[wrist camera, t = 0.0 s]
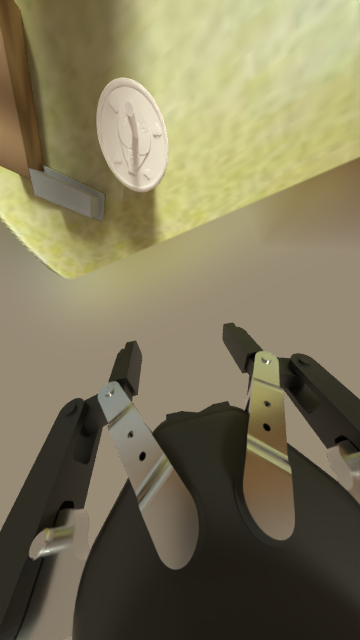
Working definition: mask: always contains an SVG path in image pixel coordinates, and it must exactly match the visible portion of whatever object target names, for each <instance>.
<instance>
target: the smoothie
mask: <svg viewBox="0 0 360 640" xmlns="http://www.w3.org/2000/svg"><path fill="white" fill-rule="evenodd" d="M96 126H97V135H98V140H99V144H100V147H101V150H102V153H103V156H104V158H105V160H106V162H107V164H108V166H109V167H110V169H111V171H112V172H113V174H114V175H115V176H116V178H117V179H118V180H119V181H120V182H121V183H122V184H123V185H124V186H126V187H127V188H129V189H131V190H133V191H136V192H148V191H150V190H152V189H154V188H155V187H156V186H157V185H158V184H159V183H160V181H161V180H162V178H163V176H164V174H165V170H166V167H167V160H168V137H167V131H166V127H165V123H164V120H163V117H162V114H161V112H160V109H159V107H158V105H157V103H156V102H155V100H154V99H153V97H152V96H151V94H150V93H149V92H148V91H147V90H146V89H145V88H144V87H143V86H142V85H141V84H140V83H138V82H137V81H135V80H133V79H130V78H124V77H122V78H117V79H114V80H112V81H111V82H110V83H108V84H107V85H106V87H105V88H104V90H103V91H102V93H101V95H100V98H99V102H98V106H97V114H96Z"/></svg>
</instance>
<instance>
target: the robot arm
mask: <svg viewBox="0 0 360 640" xmlns="http://www.w3.org/2000/svg"><path fill="white" fill-rule="evenodd" d="M223 342H224V344H225V345H226V347H227V349H228V350H229V352H230V354H231V355H232V357H233V359H234V360H235V362H236V364H237V365H238V367H239V368H240V370H241V372H242V373H248V374H249V380H248V386H247V393H246V400H245V404H244V409H241V408H238V407H235V406H230V405H229V402H228V401H227V402H222V403H217V404H213V405H211V406H210V407H208V408H206V409H204V410H202V411H201V412H198V413H195V412H184V411H181V412H177V413H171V414H167V415H166V420H165V421H163V422H162V423H161V424H160V425H159V426H158V427H157V428H156V429H155V430H154V431H153V432H152V431H151V430H150V428H149V426H148V425H147V424H146V422H145V421H144V419H143V418H142V416H141V415H140V413H139V412H138V410H137V409H136V407H135V406H134V404H133V403H132V397H133V396H135V395H138V387H139V379H140V371H141V363H142V354H141V351H140V349H139V346H138V344H137V342H136V341H132V342H127V343H126V346H125V349H122V350H121V351H120V352H119V353H118V354H117V358H116V361H115V363H114V367H113V370H112V373H111V376H110V379H109V382H108V383H107V384H106V385H105V386H103V387H102V388H101V390H100V391H99V393H98V394H97V395H95V396H93V397H91V398H89V399H87V400H85V401H84V400H83V399H81V398H76V399H74V400H72V401H70V402H69V403H67V404H66V405H65V406H64V407H63V408H62V409H61V411H60V413H59V414H58V417H57V418H56V421H55V423H54V425H53V426H52V428H51V431H50V433H49V435H48V437H47V439H46V441H45V443H44V445H43V447H42V449H41V451H40V453H39V455H38V457H37V459H36V461H35V463H34V465H33V467H32V469H31V471H30V473H29V475H28V477H27V479H26V481H25V483H24V485H23V487H22V489H21V491H20V493H19V495H18V497H17V499H16V501H15V503H14V506H13V507H12V509H11V511H10V513H9V515H8V517H7V519H6V521H5V523H4V525H3V527H2V529H1V531H0V640H63V639H65V638H67V637H70V636H72V640H360V399H359V398H358V397H356V396H355V395H354V394H353V393H352V392H351V391H349V390H348V389H347V388H346V387H345V386H344V385H343V384H341V383H340V382H339V381H338V380H337V379H336V378H335V377H333V376H332V375H331V374H330V373H329V372H327V370H325V369H324V368H323V367H322V366H321V365H320V364H318V363H317V362H316V361H315V360H314V359H312V358H311V357H309V356H307V355H304V354H293V355H292V356H291V358H278V357H276V356H274V355H273V354H271V353H269V352H266V351H263V350H262V349H261V347H260V346H259V345H258V344H257V343H256V342H255V341H254V340H253V339H252V338H251V336H250V335H248V333H247V332H246V331H245V330H244V329H242V328H240V327H236V326H235V324H234V323H227V324H224V326H223ZM282 388H283V389H284V391H285V392H286V393H287V395H288V396H289V397H290V399H291V400H292V401H293V403H294V404H295V406H296V407H297V408H298V410H299V411H300V412H301V414H302V415H303V416H304V418H305V419H306V421H307V422H308V423H309V425H310V426H311V427H312V429H313V430H314V431H315V433H316V434H317V436H318V437H319V438H320V440H321V441H322V442H323V444H324V445H325V446H326V448H327V449H328V451H327V457H328V460H329V462H330V466H331V469H332V470H333V472H334V473H335V474H336V475H337V478H338V481H336V480H335V479H334V478H332V477H331V476H330V475H328V474H327V473H326V472H325V471H323V470H322V469H321V468H320V467H318V466H317V465H316V464H314V463H313V462H312V461H310V460H309V459H308V458H307V457H305V456H304V455H303V454H301V453H300V452H299V451H298V450H296V449H295V448H294V447H292V446H291V445H290V444H288V443H287V439H286V423H285V409H284V408H285V407H284V392H283V389H282ZM309 388H310V389H309ZM108 423H109V425H108V430H109V433H110V435H111V437H112V439H113V442H114V444H115V447H116V449H117V451H118V454H119V456H120V458H121V461H122V463H123V466H124V468H125V470H126V472H127V475H128V479H127V481H126V483H125V485H124V487H123V489H122V490H121V492H120V494H119V496H118V498H117V500H116V502H115V504H114V506H113V507H112V509H111V511H110V513H109V515H108V517H107V519H106V521H105V522H104V525H103V526H102V528H101V530H100V532H99V534H98V536H97V538H96V539H95V542H94V544H93V546H92V548H91V550H90V548H89V544H88V531H89V516H88V513H87V511H86V510H85V509H84V505H85V501H86V497H87V492H88V488H89V484H90V479H91V475H92V471H93V466H94V462H95V458H96V453H97V450H98V445H99V441H100V437H101V432H102V428H103V426H105V425H107V424H108Z"/></svg>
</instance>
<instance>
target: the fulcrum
mask: <svg viewBox="0 0 360 640" xmlns="http://www.w3.org/2000/svg"><path fill="white" fill-rule="evenodd" d="M43 166H44V165H43ZM29 171H30V176H31V181H32V186H33V191H34V195H36V196H38V197H40V198H43V199H45V200H48V201H50V202H53V203H55V204H58V205H60V206H63V207H65V208H67V209H70V210H72V211H75V212H77V213H80V214H82V215H85V216H87V217H90V218H92V217H93V218H95V219H97V220H100V221H104V203H105V194H103V193H101V192H99V191H97V190H95V189H93V188H91V187H89V186H87V185H85V184H82V183H80V182H78V181H76V180H74V179H72V178H70V177H68V176H66V175H64V174H62V173H60V172H58V171H55V170H53V169H51V168H49V167H47V166H44V172H41V171H38V170H34V169H30V168H29Z"/></svg>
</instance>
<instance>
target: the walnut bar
mask: <svg viewBox="0 0 360 640" xmlns="http://www.w3.org/2000/svg"><path fill="white" fill-rule="evenodd" d="M0 166H2V167H4V168H6V169H9V170H11V171H13V172H15V173H18V174H20V175H22V176H24V177H27V178H29V179H31V176H30V171H29V168H30V169H34V170H38V171H41V172H44V168H43V161H42V154H41V147H40V141H39V134H38V127H37V121H36V114H35V107H34V100H33V94H32V87H31V80H30V73H29V67H28V60H27V53H26V47H25V40H24V33H23V26H22V20H21V13H20V9H19V8H18V6H17V5H16V3H15V2H14V0H0Z"/></svg>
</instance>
